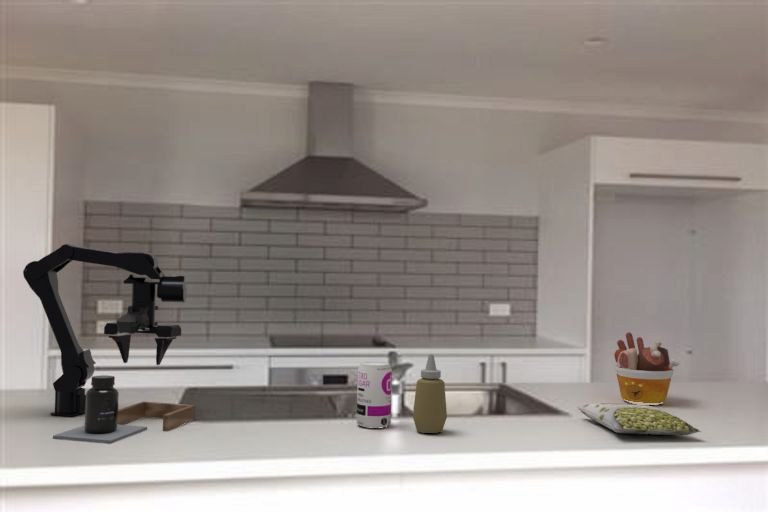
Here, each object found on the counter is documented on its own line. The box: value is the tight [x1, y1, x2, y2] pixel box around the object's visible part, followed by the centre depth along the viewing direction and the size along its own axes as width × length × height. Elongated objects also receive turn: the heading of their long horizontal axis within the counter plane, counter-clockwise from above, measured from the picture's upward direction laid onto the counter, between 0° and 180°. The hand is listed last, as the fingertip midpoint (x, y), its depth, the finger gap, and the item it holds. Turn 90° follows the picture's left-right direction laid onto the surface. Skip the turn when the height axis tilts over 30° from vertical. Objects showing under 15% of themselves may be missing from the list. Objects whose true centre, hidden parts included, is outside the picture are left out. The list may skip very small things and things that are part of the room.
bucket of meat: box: [613, 332, 680, 403], centre depth 218 cm, size 20×16×20 cm
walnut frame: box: [117, 401, 196, 432], centre depth 175 cm, size 14×13×4 cm
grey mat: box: [52, 424, 148, 444], centre depth 163 cm, size 14×14×1 cm
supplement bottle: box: [84, 374, 120, 434], centre depth 163 cm, size 7×7×12 cm
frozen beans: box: [576, 402, 702, 436], centre depth 179 cm, size 21×6×25 cm
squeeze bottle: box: [412, 354, 448, 434], centre depth 172 cm, size 8×8×18 cm
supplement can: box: [356, 361, 393, 428], centre depth 177 cm, size 8×8×15 cm
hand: (141, 363), depth 185 cm, fingers open, 9 cm apart
